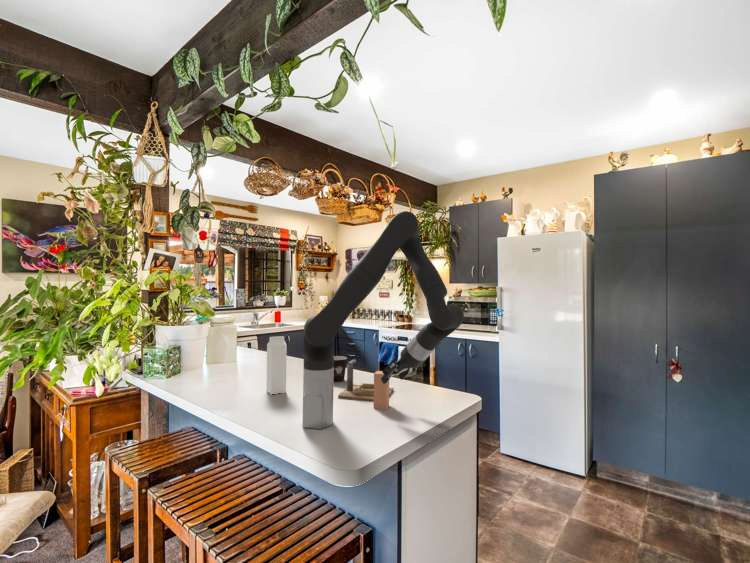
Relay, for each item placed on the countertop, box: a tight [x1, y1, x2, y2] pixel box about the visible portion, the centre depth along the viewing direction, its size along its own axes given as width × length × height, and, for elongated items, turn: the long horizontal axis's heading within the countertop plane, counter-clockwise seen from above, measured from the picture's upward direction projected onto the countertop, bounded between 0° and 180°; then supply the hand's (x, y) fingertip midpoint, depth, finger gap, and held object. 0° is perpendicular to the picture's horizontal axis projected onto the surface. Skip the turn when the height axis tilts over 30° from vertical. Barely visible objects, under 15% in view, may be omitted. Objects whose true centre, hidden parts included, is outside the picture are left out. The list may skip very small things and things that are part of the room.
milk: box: [265, 335, 288, 396], centre depth 148 cm, size 6×6×22 cm
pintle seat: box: [337, 359, 394, 402], centre depth 146 cm, size 16×18×12 cm
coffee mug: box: [333, 355, 348, 383], centre depth 167 cm, size 12×9×10 cm
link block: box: [373, 370, 390, 410], centre depth 132 cm, size 4×4×12 cm
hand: (391, 379), depth 128 cm, fingers open, 8 cm apart
